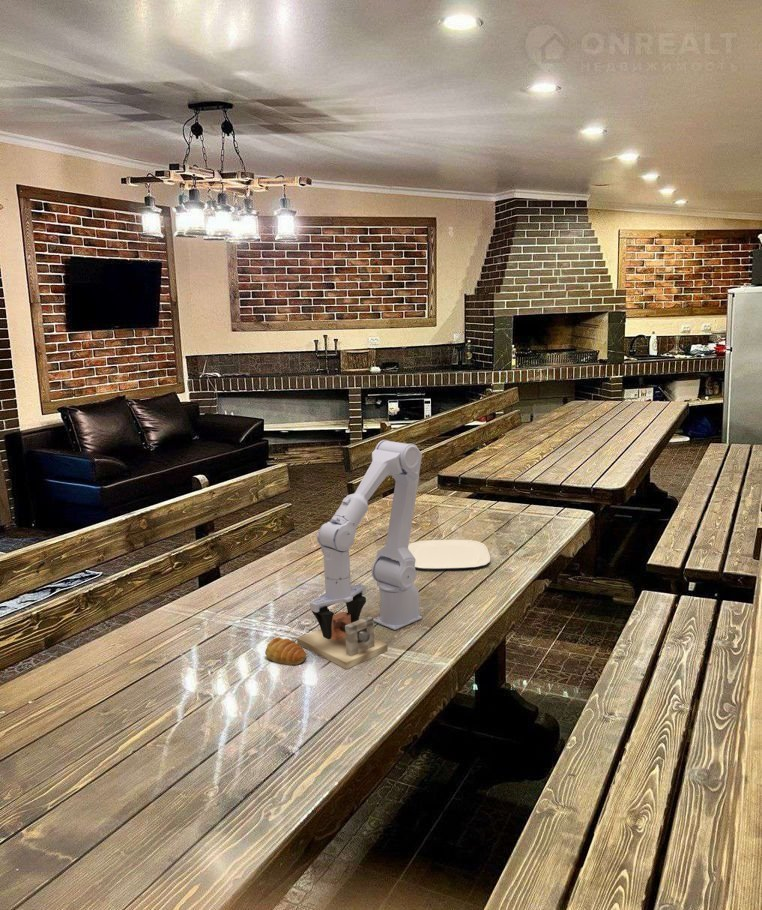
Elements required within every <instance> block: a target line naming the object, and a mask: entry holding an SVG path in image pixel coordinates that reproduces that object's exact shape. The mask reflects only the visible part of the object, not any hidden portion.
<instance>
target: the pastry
mask: <svg viewBox="0 0 762 910" xmlns="http://www.w3.org/2000/svg"><path fill="white" fill-rule="evenodd" d="M264 653H265V656H266V657H267V658H268V660H271V661H272V662H274V663H277V664H283V665H288V666H292V665H296V666H298V665H300V664H301V663H303V662H304V661H305V660H306V658H307V653H306V651H305V650H304V647H302V646H300V645H299V644H297V643H296V641H294V640H292V639H289V638H284V639H283V638H281V637H274V638H272V639H271V640H270V642H268V644H267V646H266V648H265V651H264Z"/></svg>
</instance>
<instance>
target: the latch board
mask: <svg viewBox="0 0 762 910" xmlns="http://www.w3.org/2000/svg"><path fill="white" fill-rule="evenodd" d="M373 619H374V617H371V616H369V615H367V616H365V617H363V618H362V617H361V618H359V620H358V621H355V622H353V623H350V624H348V625H345V635H346V636H345V637H343V638H341V639H338V640H335V639H333V638H331V639H327V638H325V637H323V634H322V631H321V628H318V629H317V630H314V631H311V632H308V633H306V634H304V635H301V636H298V637H297V638H296V642H297V643H296V644H299V645H300V647H302V648H303V649H304V648H305V649H306V650H308V651H310V652H311V653H314V654H316V655H318V656H320V657H321V658H324V659H326V660H327V661H330V662H332V663H333V664H336V665H337V666H338V667H339V666H340V667H341V668H343V669H345V670H348V669H351V668H352V667H354V666H357V665H359V664H361V663H364V662H365V661H368V660H370V659H372V658H375V657H377V656H379V655H381V654H382V653H385V652H387V651H388V644H387V643H385V642H383V641H381V640H379V639H376V638H375V629H374V624H375V622H374V621H373ZM360 630H362V631H365V632H367V633H369V634H370V639H369V640H368V641H367V642H364V641H362V640H359V639H358V638H357V632H358V631H360Z"/></svg>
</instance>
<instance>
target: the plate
mask: <svg viewBox="0 0 762 910" xmlns="http://www.w3.org/2000/svg"><path fill="white" fill-rule="evenodd" d="M408 549H409V551H410V552H411V554H412V555H413V556H414V557H415V559H416V561H415V569H419V570H420V569H421V570H457V569H458V570H461V569H462V570H463V569H475V568H481V567H483V566H488V564H489V563H490V562H491V554H490V551H489V549H488V547H487V546H486V544H484V543H483V542H481V541H479V540H473V539H472V540H471V539H433V540H432V539H431V540H419V541H413V542H409V545H408Z"/></svg>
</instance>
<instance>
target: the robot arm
mask: <svg viewBox="0 0 762 910" xmlns="http://www.w3.org/2000/svg"><path fill="white" fill-rule="evenodd" d="M422 458H423V454H422V452H421V451H420V449H419V448H418V446H417V445H416V444H414V443H405V442H398V441H391V440H388V439H382V440H380V441H379V442H378V443H377V444H376V446H375V448H374V450H373V451H372V452H371V463H370V465H369V466H368V468H367V471H366V472H365V473H364V476H363V477H362V479H361V481H360V483H359V485H358V486H357V488H356V490H355V492H354V493H351V494H348V495H346V497H344V498H343V499H342V501H341V504H340V506H339V507H338V508H337V510H336V512H335V513H334V515H333V516H332V517H331V518H330V520H329V521H327V522H325V523H323V524H322V525H321V526H320V527H319V529H318V534H317V536H316V540H317V544H318V545H319V546H320V548H321V553H322V555H323V568H324V586H325V587H324V588H325V593H323V594H322V595H321V596H319V597H317V598H316V599H314V600H312V601H310V602H309V603H310V604H309V606H310V611H311V613H312V614H313V616H314V617H315V619H316V620H317V622H318V625H319V627H320V628H319V629H321V631H322V634H323V637H325V638H327V639H331V636H332V618H333V615H335V612H333V611H331V610H330V608H328V607H330V606H333V605H336V604H339V603H345V606H346V612H347V613H349V614H350V615H351V623H353V622H355V621H358V620H360V616H361V612H362V610H363V608H364V606H365V604H366V602H367V598H366V597H365V596H364V595H366V594H367V591H366V588H367V587H366V585H364V584H361V583H359V584H355V585H352V582H351V581H352V579H351V578H352V577H351V562H350V560H351V558H350V548H351V547H352V546H353V545H354V542H355V538H356V533H357V528H358V526H359V524H360V523H361V521H362V519H363V518H364V517H365V516H366V514H367V512H368V510H369V504H368V502H369V500H370V499H371V497H372V496H373V495H374V493H376V491H377V489H378V488H379V487H380V486H381V484H382V483H383V481H384V480H385V479H386V478H387V477H389V476H391V477H392V479H393V480H394V481H395V483H394V484H395V485H394V490H393V497H392V503H391V509H390V516H389V521H388V529H387V534H386V535H387V536H386V540H385V545H384V546H383V547H381V548H380V549H379V550H378V551H376V557H375V559H374V561H373V564H372V566H371V577H372V578H373V580H374V581H376V585H377V586H378V588H379V589H378V590H379V613H380V614H379V616H377V617H373V622H374V623H376V624H379V625H382V626H384V627H386V628H387V629H391V630H393V631H396V630H399V629H401V628H403V627H407V625H410V624H412V623H415V622H417V621H419V620H421V619H422V618H423V616H422V615H420V593H419V589H418V587H417V585H416V584H415V581H416V576H417V571H416V568H415V561H416V559H415V557H414V556H413V555H412V554H411V552H410V551H409V549H408V545H409V544H410V538H411V531H412V525H413V519H414V513H415V512H414V511H415V506H416V499H417V493H418V486H419V481H420V471H421V465H422Z"/></svg>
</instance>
